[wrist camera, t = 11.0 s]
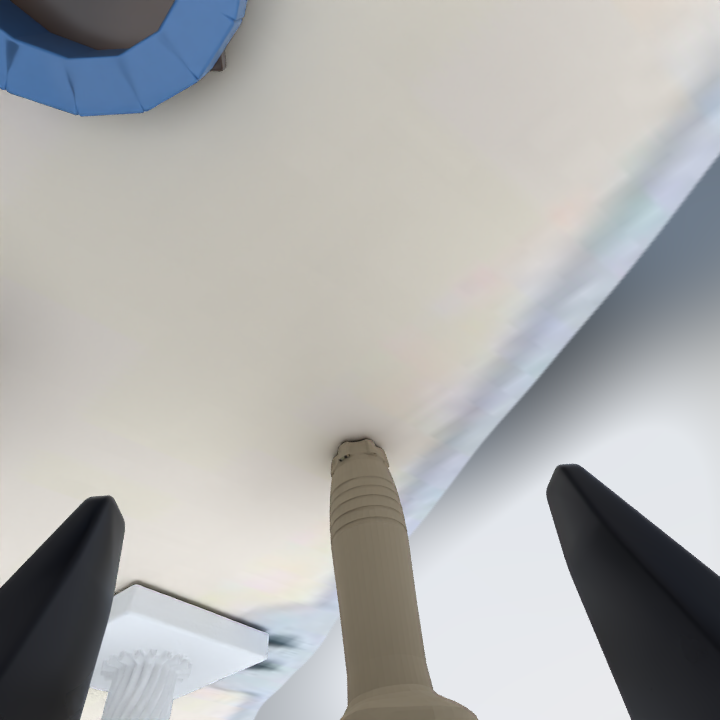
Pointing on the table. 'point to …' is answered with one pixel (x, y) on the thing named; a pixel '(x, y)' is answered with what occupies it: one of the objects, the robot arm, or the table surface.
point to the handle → (378, 595)
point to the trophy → (166, 653)
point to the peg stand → (102, 21)
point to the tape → (115, 60)
